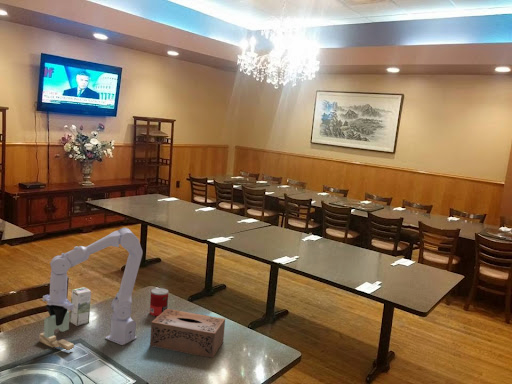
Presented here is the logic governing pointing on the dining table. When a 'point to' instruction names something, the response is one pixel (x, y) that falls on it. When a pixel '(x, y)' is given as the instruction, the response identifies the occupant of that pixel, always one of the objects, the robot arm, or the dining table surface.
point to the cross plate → (51, 325)
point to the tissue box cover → (187, 332)
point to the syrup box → (80, 306)
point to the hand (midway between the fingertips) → (57, 323)
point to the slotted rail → (55, 342)
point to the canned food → (158, 301)
